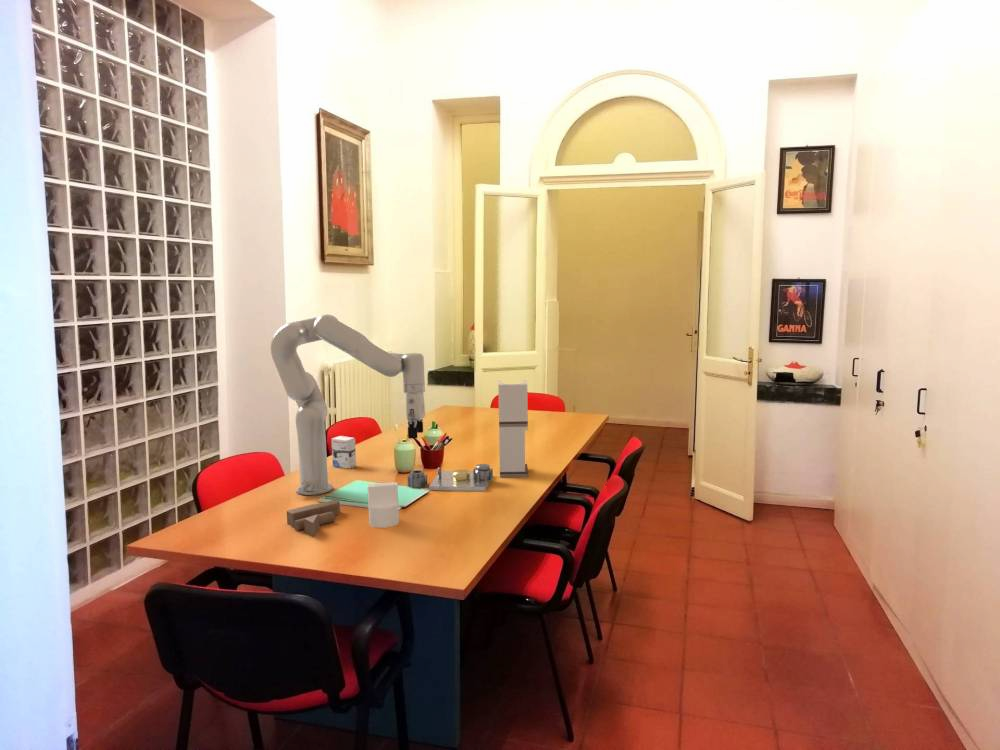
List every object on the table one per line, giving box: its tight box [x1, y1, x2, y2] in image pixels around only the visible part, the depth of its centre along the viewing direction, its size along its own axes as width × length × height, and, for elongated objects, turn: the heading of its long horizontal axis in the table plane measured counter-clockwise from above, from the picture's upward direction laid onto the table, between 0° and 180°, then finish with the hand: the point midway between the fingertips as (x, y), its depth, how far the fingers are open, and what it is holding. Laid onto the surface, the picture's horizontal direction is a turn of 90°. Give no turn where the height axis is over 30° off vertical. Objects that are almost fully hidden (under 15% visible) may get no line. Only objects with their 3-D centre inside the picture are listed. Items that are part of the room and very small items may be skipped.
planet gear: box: [406, 469, 428, 489], centre depth 251 cm, size 7×7×5 cm
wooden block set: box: [286, 499, 341, 538], centre depth 212 cm, size 17×6×18 cm
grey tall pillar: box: [497, 379, 529, 478], centre depth 264 cm, size 11×11×35 cm
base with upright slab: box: [367, 481, 400, 529], centre depth 212 cm, size 9×9×12 cm
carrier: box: [428, 463, 494, 492], centre depth 254 cm, size 20×22×6 cm
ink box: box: [331, 435, 357, 469], centre depth 279 cm, size 8×5×12 cm, turn 62°
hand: (415, 435), depth 250 cm, fingers open, 9 cm apart
